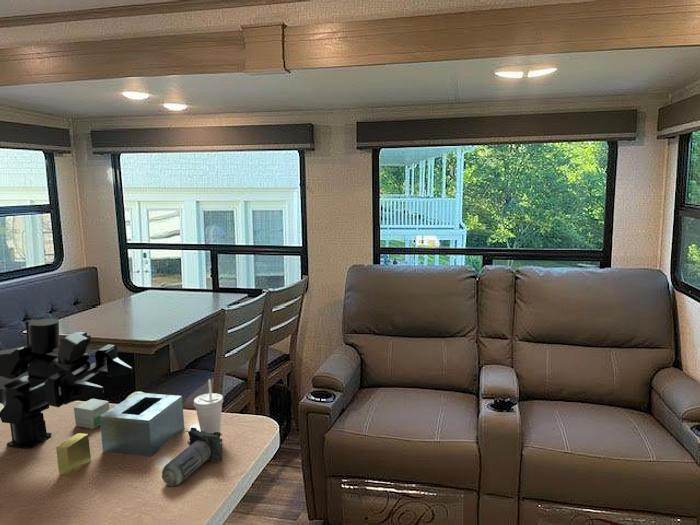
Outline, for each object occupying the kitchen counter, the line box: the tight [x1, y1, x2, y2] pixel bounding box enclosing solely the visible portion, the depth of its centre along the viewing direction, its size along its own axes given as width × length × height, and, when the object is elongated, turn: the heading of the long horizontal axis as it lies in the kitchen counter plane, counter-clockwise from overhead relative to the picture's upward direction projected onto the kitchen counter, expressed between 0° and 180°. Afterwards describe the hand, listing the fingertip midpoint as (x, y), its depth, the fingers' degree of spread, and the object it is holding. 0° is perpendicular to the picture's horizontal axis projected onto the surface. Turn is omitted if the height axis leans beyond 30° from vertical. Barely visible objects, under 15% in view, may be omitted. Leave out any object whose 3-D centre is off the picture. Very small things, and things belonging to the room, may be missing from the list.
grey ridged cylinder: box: [161, 427, 224, 487], centre depth 105 cm, size 9×8×12 cm
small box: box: [73, 398, 110, 430], centre depth 129 cm, size 6×6×5 cm
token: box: [55, 432, 92, 477], centre depth 108 cm, size 2×6×6 cm, turn 167°
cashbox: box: [99, 392, 185, 457], centre depth 119 cm, size 12×13×8 cm
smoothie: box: [193, 379, 224, 433], centre depth 118 cm, size 6×6×14 cm
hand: (118, 379), depth 112 cm, fingers open, 9 cm apart
